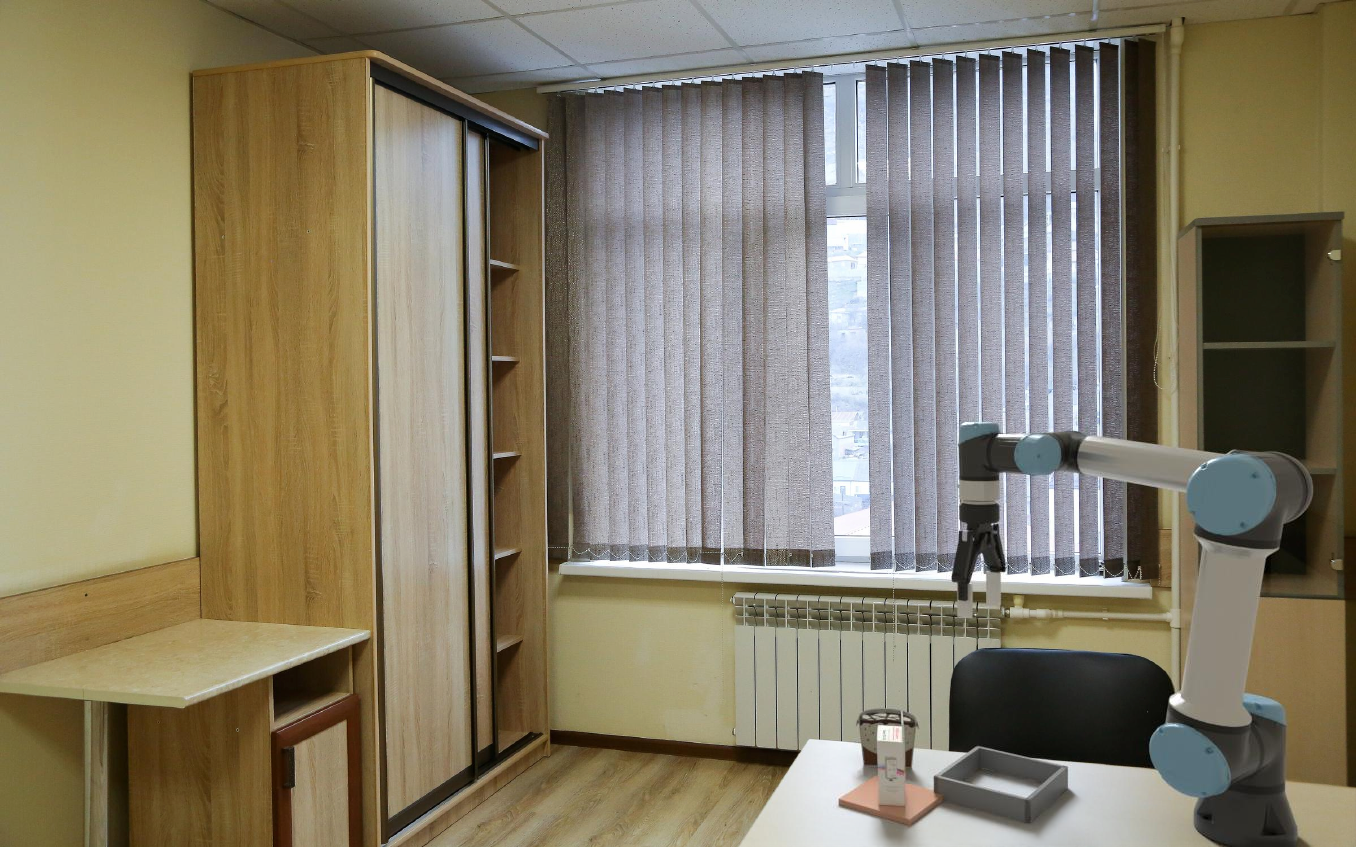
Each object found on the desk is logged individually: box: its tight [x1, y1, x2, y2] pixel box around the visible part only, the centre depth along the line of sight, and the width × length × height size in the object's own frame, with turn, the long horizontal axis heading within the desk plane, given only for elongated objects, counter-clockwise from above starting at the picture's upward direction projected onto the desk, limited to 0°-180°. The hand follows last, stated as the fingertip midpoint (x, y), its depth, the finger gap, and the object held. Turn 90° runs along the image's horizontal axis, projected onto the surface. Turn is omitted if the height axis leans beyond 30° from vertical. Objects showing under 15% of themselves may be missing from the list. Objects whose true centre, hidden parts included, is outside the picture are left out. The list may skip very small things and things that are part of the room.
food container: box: [855, 707, 920, 769], centre depth 198 cm, size 12×6×10 cm, turn 80°
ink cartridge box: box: [877, 710, 906, 806], centre depth 178 cm, size 9×5×15 cm, turn 168°
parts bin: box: [933, 745, 1069, 824], centre depth 182 cm, size 18×20×4 cm
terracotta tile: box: [838, 774, 944, 826], centre depth 179 cm, size 14×14×1 cm
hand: (979, 610), depth 191 cm, fingers open, 13 cm apart
